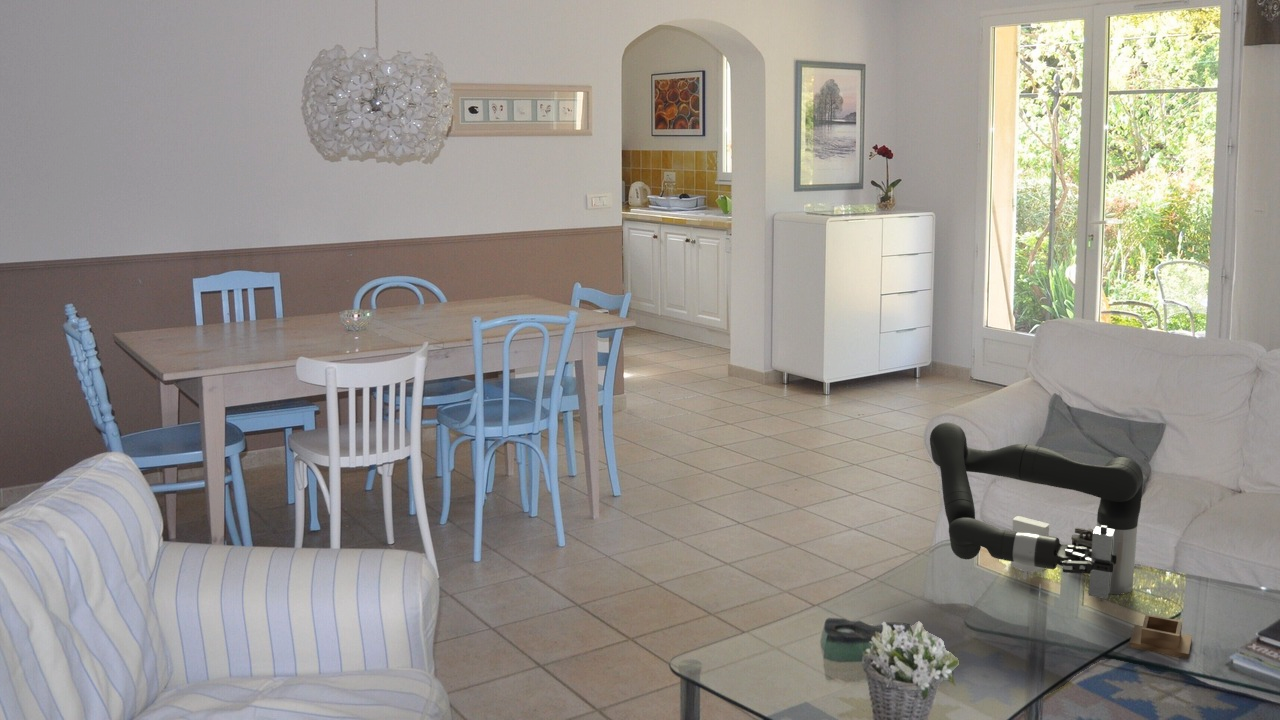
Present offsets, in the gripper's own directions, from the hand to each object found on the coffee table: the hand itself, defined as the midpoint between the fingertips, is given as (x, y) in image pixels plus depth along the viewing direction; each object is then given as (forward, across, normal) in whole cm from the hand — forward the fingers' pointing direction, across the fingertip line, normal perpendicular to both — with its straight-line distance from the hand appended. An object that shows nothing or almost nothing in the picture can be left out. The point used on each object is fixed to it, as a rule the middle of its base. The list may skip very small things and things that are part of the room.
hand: (1114, 563), depth 253 cm
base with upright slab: (-24, +30, +18) cm, 42 cm away
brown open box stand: (+11, 0, +18) cm, 21 cm away
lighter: (-10, +35, +18) cm, 41 cm away
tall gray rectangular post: (-3, 0, +8) cm, 8 cm away
